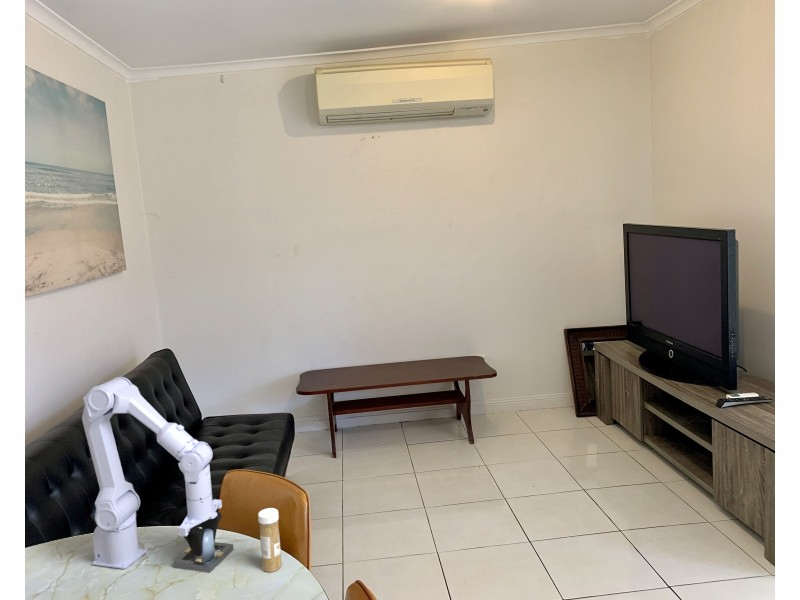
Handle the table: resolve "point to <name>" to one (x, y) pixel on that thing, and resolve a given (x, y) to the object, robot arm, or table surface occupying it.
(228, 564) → the table surface
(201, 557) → the blue-grey rounded tapered piece
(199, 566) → the collar
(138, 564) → the table surface
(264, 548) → the sprinkles bottle
